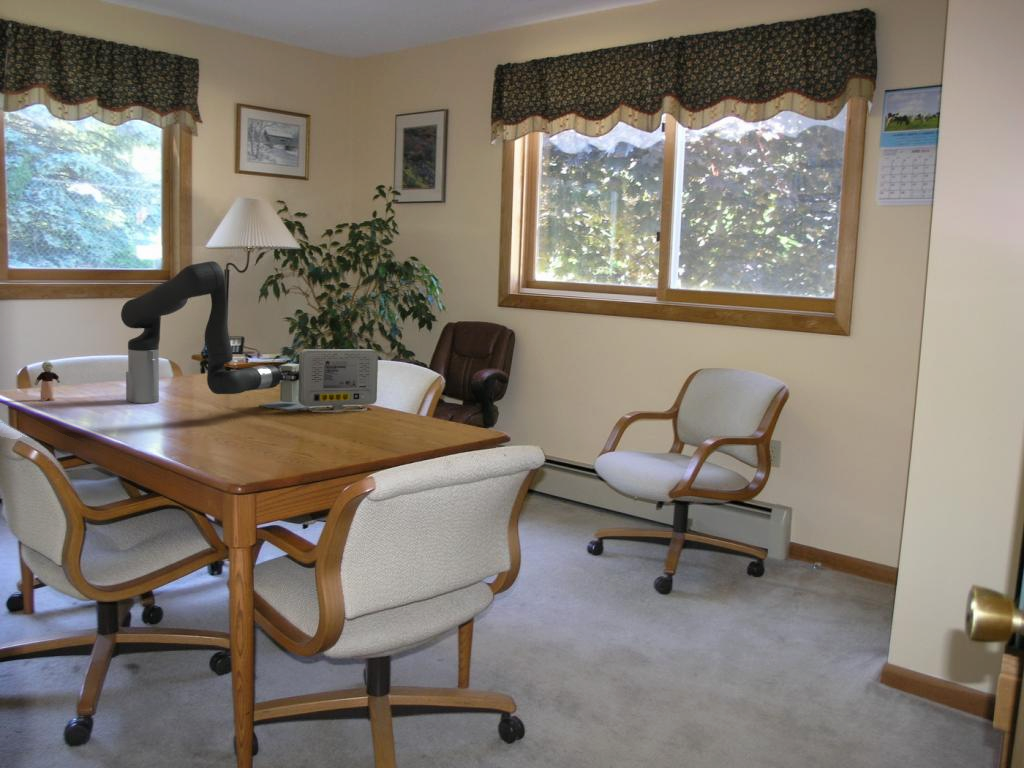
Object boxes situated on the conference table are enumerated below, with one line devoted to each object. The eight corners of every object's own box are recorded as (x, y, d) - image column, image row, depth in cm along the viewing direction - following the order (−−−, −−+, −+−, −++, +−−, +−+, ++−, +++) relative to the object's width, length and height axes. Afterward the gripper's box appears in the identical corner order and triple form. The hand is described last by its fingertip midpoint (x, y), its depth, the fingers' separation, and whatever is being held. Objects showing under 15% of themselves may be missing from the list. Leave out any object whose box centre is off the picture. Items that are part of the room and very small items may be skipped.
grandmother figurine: (40, 402, 278) (39, 362, 276) (33, 400, 280) (32, 361, 278) (63, 399, 284) (62, 360, 283) (56, 398, 286) (55, 359, 284)
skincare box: (288, 399, 296) (288, 363, 295) (300, 400, 295) (301, 364, 294) (279, 401, 290) (280, 364, 288) (292, 402, 289) (292, 365, 288)
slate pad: (259, 406, 290) (259, 404, 290) (286, 401, 303) (286, 399, 302) (293, 411, 284) (293, 409, 284) (319, 405, 297) (319, 404, 297)
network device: (370, 406, 302) (372, 348, 299) (379, 410, 294) (381, 351, 291) (296, 408, 290) (297, 348, 287) (303, 413, 282) (304, 351, 279)
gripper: (280, 367, 275) (313, 363, 291) (244, 363, 281) (278, 359, 296) (280, 391, 276) (312, 386, 292) (243, 386, 282) (277, 381, 297)
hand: (295, 372), depth 294 cm, fingers open, 5 cm apart
